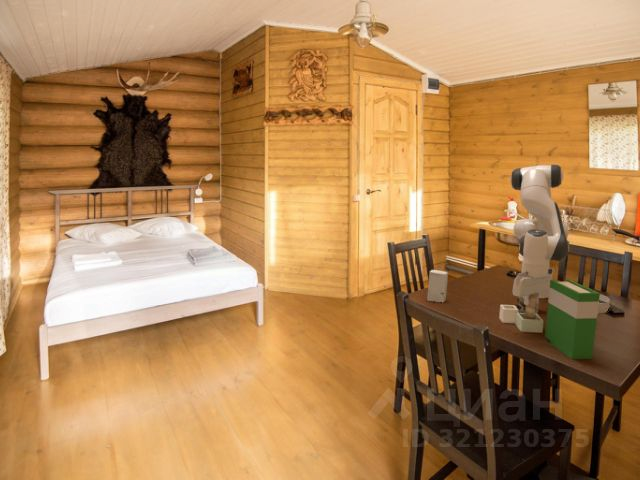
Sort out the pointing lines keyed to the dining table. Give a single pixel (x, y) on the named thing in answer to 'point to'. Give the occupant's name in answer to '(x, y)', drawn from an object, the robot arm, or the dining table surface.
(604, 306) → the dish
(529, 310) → the dowel
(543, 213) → the robot arm
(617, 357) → the dining table surface
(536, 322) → the holder
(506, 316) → the cup
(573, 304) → the green cereal box
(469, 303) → the dining table surface
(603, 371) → the dining table surface
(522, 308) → the coffee box
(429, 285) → the skincare box
